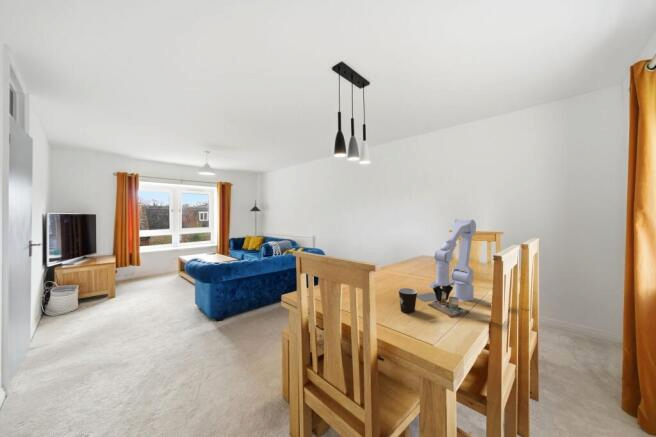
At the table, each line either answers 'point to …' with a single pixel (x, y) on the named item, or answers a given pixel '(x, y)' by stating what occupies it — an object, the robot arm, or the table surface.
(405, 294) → the coffee mug
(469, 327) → the table surface
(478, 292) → the table surface
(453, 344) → the table surface
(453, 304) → the cream teal cylinder
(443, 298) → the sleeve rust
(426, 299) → the mat
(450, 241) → the robot arm
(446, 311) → the brown compartment tray
